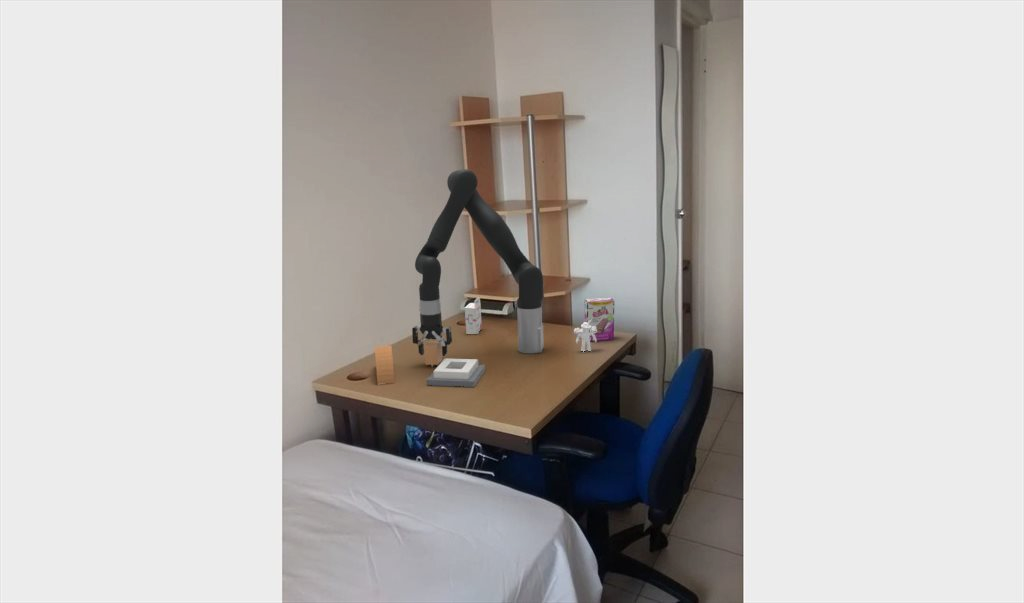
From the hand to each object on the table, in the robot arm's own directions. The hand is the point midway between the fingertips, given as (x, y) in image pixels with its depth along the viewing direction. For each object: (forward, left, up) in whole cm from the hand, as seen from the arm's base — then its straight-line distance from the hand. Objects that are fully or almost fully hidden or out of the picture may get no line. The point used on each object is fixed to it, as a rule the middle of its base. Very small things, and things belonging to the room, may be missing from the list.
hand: (433, 354), depth 230 cm
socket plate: (-12, +12, -4) cm, 18 cm away
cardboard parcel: (0, 0, -4) cm, 4 cm away
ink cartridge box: (-4, -42, -4) cm, 42 cm away
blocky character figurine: (-53, -21, -4) cm, 57 cm away
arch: (+14, +11, -4) cm, 18 cm away
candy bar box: (-57, -36, -4) cm, 68 cm away
